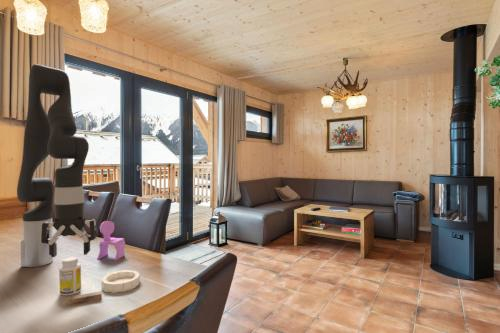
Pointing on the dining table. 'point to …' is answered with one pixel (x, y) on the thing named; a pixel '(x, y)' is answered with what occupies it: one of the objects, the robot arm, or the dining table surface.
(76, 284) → the supplement bottle
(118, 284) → the jar dish
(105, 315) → the dining table surface
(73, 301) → the walnut stick
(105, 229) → the toy chair
